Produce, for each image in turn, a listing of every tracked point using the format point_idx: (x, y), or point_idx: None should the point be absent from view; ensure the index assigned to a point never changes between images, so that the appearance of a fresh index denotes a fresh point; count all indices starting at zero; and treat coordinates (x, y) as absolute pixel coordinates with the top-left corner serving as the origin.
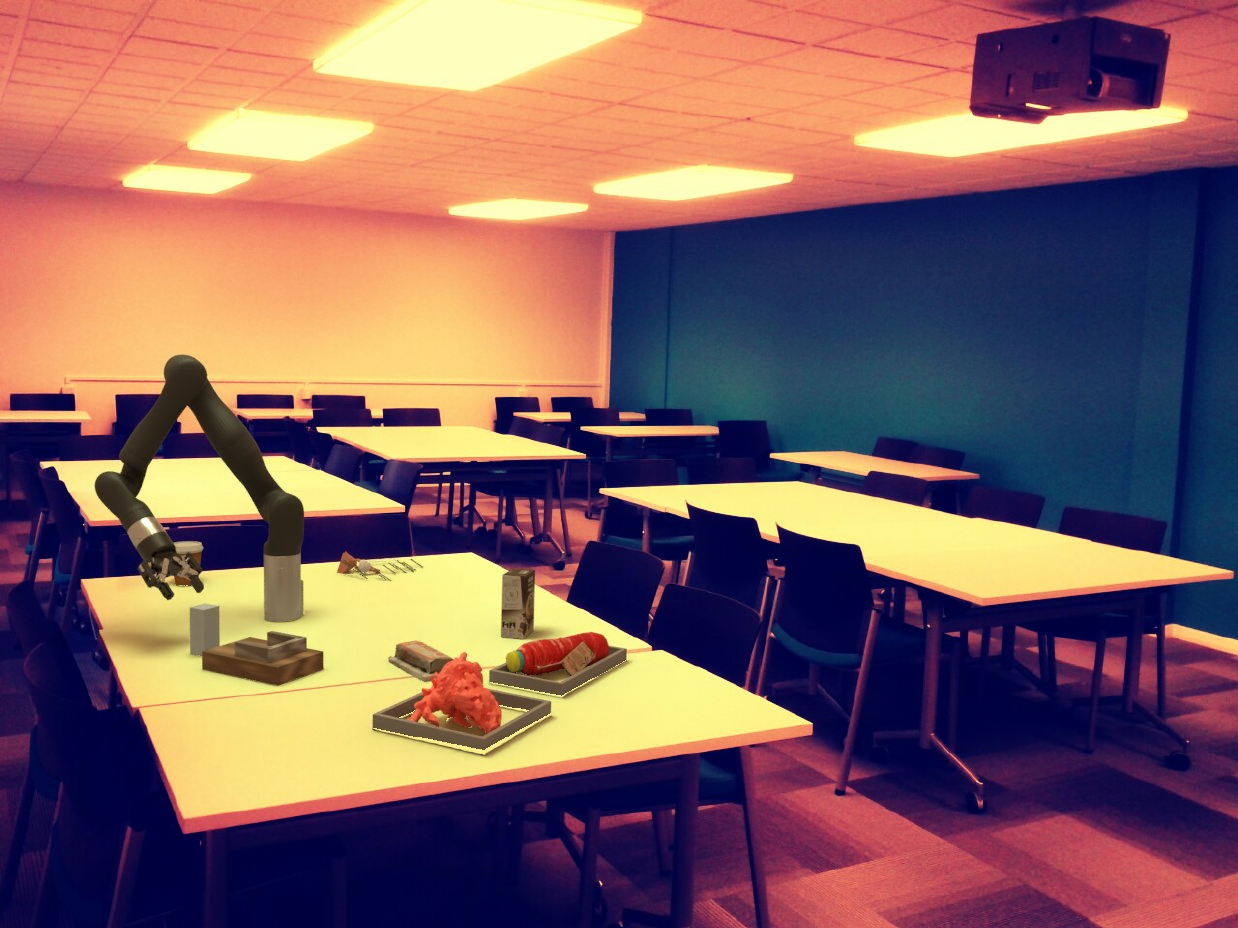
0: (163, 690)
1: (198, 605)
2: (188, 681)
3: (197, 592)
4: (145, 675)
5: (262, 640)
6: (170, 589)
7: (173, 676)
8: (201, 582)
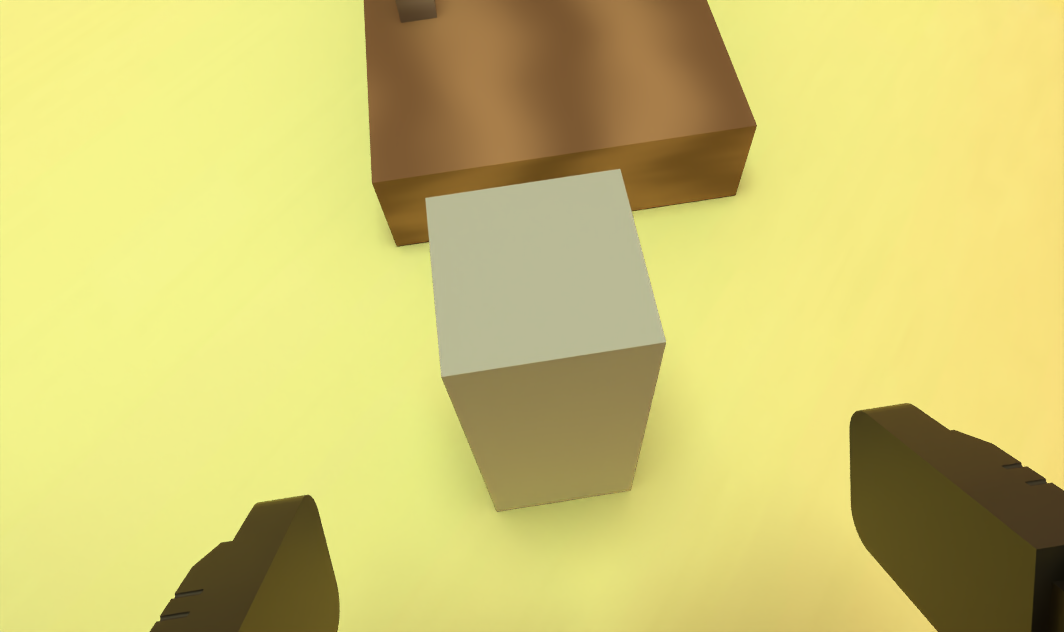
0: (1020, 67)
1: (551, 345)
2: (875, 95)
3: (335, 611)
4: (1034, 298)
5: (386, 90)
6: (930, 443)
7: (907, 192)
8: (183, 601)
